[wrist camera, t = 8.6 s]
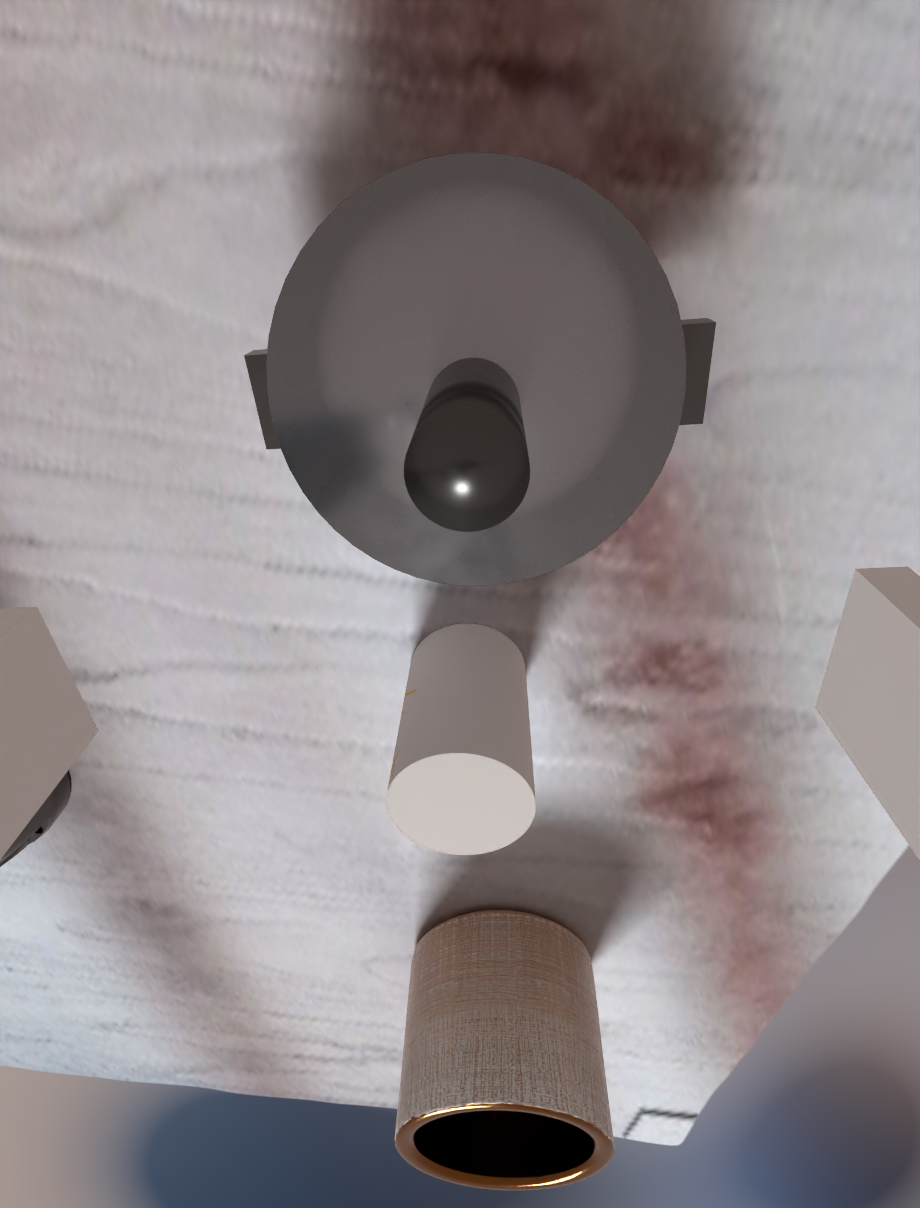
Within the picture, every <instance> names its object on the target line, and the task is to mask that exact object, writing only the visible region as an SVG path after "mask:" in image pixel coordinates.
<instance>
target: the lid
mask: <svg viewBox="0 0 920 1208" xmlns="http://www.w3.org/2000/svg"><path fill="white" fill-rule="evenodd" d="M266 368H267V393H268V399H269V405H270V411H271V417H272V422H273V425H274V428H275V432H276V435H277V439H278V442H279V445H280V448H281V450H282V452H283V455H284V457H285V459H286V462H287V464H288V466H289V469H290V471H291V472H292V474H293V476H294V477H295V479H296V481H297V483H298V484H299V486H300V488H301V490H302V491H303V493H304V494H305V495H306V497H307V498H308V499H309V501H310V502H311V503H312V505H313V506H314V507H315V509H316V510H317V511H318V513H319V514H320V515H321V516H322V517H323V518H324V519H325V520H326V521H327V522H328V523H329V524H330V525H331V526H332V527H333V528H334V529H335V530H336V531H337V532H338V533H339V534H340V535H342V536H343V537H344V538H345V539H346V540H348V541H349V542H350V543H351V544H352V545H354V546H355V547H357V548H358V549H360V550H361V551H363V552H364V553H366V554H367V555H369V556H370V557H372V558H373V559H375V560H377V561H379V562H381V563H383V564H385V565H387V566H389V567H391V568H393V569H395V570H398V571H401V572H404V573H406V574H409V575H412V576H414V577H418V578H422V579H426V580H430V581H434V582H438V583H445V584H453V585H461V586H489V585H499V584H508V583H513V582H517V581H522V580H526V579H531V578H534V577H537V576H540V575H543V574H546V573H548V572H551V571H554V570H556V569H558V568H560V567H562V566H564V565H567V564H569V563H571V562H573V561H575V560H576V559H578V558H580V557H581V556H583V555H584V554H586V553H588V552H589V551H591V550H592V549H594V548H595V547H597V546H598V545H599V544H600V543H602V542H603V541H604V540H605V539H607V538H608V537H609V536H610V535H612V534H613V533H614V532H615V531H616V530H617V529H618V528H619V527H620V526H621V525H622V524H623V523H624V522H625V521H626V520H627V519H628V518H629V517H630V516H631V515H632V514H633V512H634V511H635V510H636V509H637V507H638V506H639V505H640V504H641V502H642V501H643V500H644V498H645V497H646V496H647V495H648V493H649V491H650V490H651V488H652V486H653V485H654V483H655V481H656V480H657V478H658V476H659V475H660V473H661V471H662V469H663V467H664V464H665V462H666V460H667V458H668V456H669V453H670V451H671V449H672V446H673V443H674V440H675V437H676V433H677V430H678V427H679V424H680V420H681V414H682V408H683V403H684V397H685V386H686V353H685V341H684V333H683V328H682V324H681V319H680V315H679V310H678V306H677V303H676V300H675V297H674V295H673V292H672V289H671V287H670V284H669V281H668V279H667V276H666V274H665V272H664V271H663V269H662V267H661V265H660V263H659V261H658V260H657V258H656V256H655V254H654V252H653V250H652V249H651V247H650V246H649V245H648V243H647V242H646V241H645V239H644V238H643V237H642V235H641V234H640V233H639V231H638V230H637V229H636V227H635V226H634V225H633V223H632V222H631V221H630V220H629V219H628V218H627V217H626V216H625V215H623V214H622V213H621V212H620V211H619V210H618V209H617V208H616V207H615V206H614V205H613V204H612V203H611V202H610V201H609V200H608V199H606V198H605V197H604V196H602V195H601V194H599V193H598V192H597V191H595V190H594V189H592V188H591V187H590V186H588V185H587V184H585V183H584V182H582V181H580V180H578V179H576V178H575V177H573V176H571V175H569V174H567V173H565V172H563V171H561V170H559V169H557V168H555V167H552V166H549V165H546V164H542V163H539V162H536V161H533V160H530V159H527V158H523V157H517V156H511V155H504V154H497V153H455V154H449V155H443V156H438V157H432V158H427V159H423V160H420V161H417V162H415V163H412V164H409V165H406V166H403V167H400V168H397V169H395V170H393V171H391V172H389V173H387V174H385V175H383V176H381V177H380V178H378V179H376V180H374V181H372V182H370V183H368V184H366V185H365V186H364V187H362V188H361V189H360V190H358V191H357V192H356V193H354V194H353V195H352V196H350V197H349V198H348V199H346V200H345V201H344V202H342V203H341V204H340V205H339V206H338V207H337V208H336V209H335V210H334V211H333V212H332V213H331V214H330V215H329V216H328V217H327V218H326V219H325V220H324V221H323V222H322V223H321V224H320V225H319V226H318V228H317V229H316V230H315V232H314V233H313V235H312V236H311V237H310V239H309V240H308V241H307V243H306V244H305V246H304V247H303V248H302V250H301V251H300V253H299V255H298V256H297V258H296V260H295V262H294V264H293V266H292V268H291V270H290V271H289V273H288V275H287V277H286V279H285V282H284V285H283V287H282V290H281V293H280V295H279V298H278V301H277V304H276V306H275V310H274V315H273V319H272V324H271V328H270V333H269V340H268V352H267V363H266Z"/></svg>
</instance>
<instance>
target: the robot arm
mask: <svg viewBox="0 0 920 1208" xmlns="http://www.w3.org/2000/svg"><path fill="white" fill-rule="evenodd" d="M815 708H816V709H817V711H818V712H819V714H820V715H821V717H822V718H823V720H824V721H825V723H826V724H827V726H828V727H829V728H830V730H831V731H832V733H833V734H834V736H835V737H836V739H837V740H838V742H839V743H840V745H841V746H842V747H843V749H844V750H845V752H846V753H847V755H848V756H849V758H850V759H851V761H852V762H853V764H854V765H855V766H856V768H857V769H858V771H859V772H860V774H861V775H862V777H863V778H864V780H865V781H866V783H867V784H868V785H869V787H870V788H871V790H872V791H873V793H874V794H875V796H876V797H877V799H878V800H879V802H880V803H881V805H882V806H883V807H884V809H885V810H886V812H887V813H888V815H889V816H890V818H891V819H892V821H893V822H894V824H895V825H896V826H897V828H898V829H899V831H900V832H901V834H902V835H903V837H904V838H905V840H906V841H907V843H908V844H909V845H910V847H911V848H912V850H913V851H914V853H915V854H916V856H917V857H918V858H919V860H920V576H919V575H917V574H916V573H915V572H914V571H912V570H911V569H910V568H909V567H889V568H868V569H855V572H854V576H853V579H852V582H851V586H850V589H849V593H848V596H847V600H846V603H845V607H844V610H843V613H842V617H841V620H840V624H839V627H838V631H837V634H836V638H835V641H834V644H833V648H832V651H831V655H830V658H829V662H828V665H827V668H826V672H825V675H824V679H823V682H822V686H821V689H820V693H819V696H818V699H817V703H816V706H815ZM97 732H98V729H97V727H96V725H95V723H94V721H93V719H92V717H91V715H90V713H89V711H88V709H87V707H86V705H85V702H84V700H83V698H82V696H81V694H80V692H79V690H78V688H77V686H76V684H75V682H74V680H73V678H72V676H71V674H70V672H69V670H68V668H67V666H66V664H65V662H64V660H63V658H62V656H61V654H60V652H59V650H58V648H57V646H56V644H55V642H54V640H53V638H52V636H51V634H50V632H49V630H48V628H47V626H46V624H45V622H44V620H43V618H42V616H41V614H40V612H39V610H38V608H37V607H23V608H1V609H0V867H1V866H2V865H3V864H5V863H6V862H7V861H9V860H10V859H11V858H13V857H14V856H15V855H17V854H18V853H19V852H20V851H21V850H23V849H24V848H25V847H26V846H27V845H28V844H30V843H32V842H34V841H35V840H37V839H38V838H39V837H41V836H42V835H43V834H44V833H45V832H46V831H47V830H48V829H49V828H50V827H51V826H52V824H53V823H54V822H55V820H56V819H57V818H58V816H59V815H60V813H61V812H62V811H63V809H64V808H65V806H66V805H67V803H68V801H69V797H70V781H69V777H68V774H67V771H68V770H69V769H70V767H71V766H72V765H73V763H74V762H75V761H76V760H77V758H78V757H79V756H80V754H81V753H82V752H83V750H84V749H85V748H86V746H87V745H88V744H89V742H90V741H91V740H92V738H93V737H94V736H95V735H96V733H97Z"/></svg>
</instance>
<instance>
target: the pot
mask: <svg viewBox="0 0 920 1208" xmlns="http://www.w3.org/2000/svg"><path fill="white" fill-rule="evenodd" d="M681 324H682V328H683V333H684V341H685V353H686V386H685V397H684V403H683V408H682V414H681V420H680V424H679V425H687V424H703V418H704V410H705V403H706V395H707V387H708V380H709V372H710V364H711V357H712V349H713V341H714V334H715V326H716V322H714V321H712V320H710V319H708V318H702V319H688V320H681ZM267 352H268V349H265V350H253V351H251V352H250V353H248V354H246V355H244V356H245V361H246V365H247V369H248V373H249V377H250V382H251V386H252V390H253V394H254V398H255V403H256V407H257V411H258V415H259V419H260V423H261V428H262V432H263V436H264V440H265V444H266V449H278V448H280V445H279V442H278V439H277V435H276V432H275V428H274V425H273V422H272V417H271V411H270V405H269V399H268V393H267V368H266V363H267Z"/></svg>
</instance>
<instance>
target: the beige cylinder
mask: <svg viewBox="0 0 920 1208" xmlns="http://www.w3.org/2000/svg"><path fill="white" fill-rule="evenodd" d="M386 806H387V811H388V814H389V817H390V819H391V821H392V822H393V824H394V825H395V826H396V828H397V829H398V830H399V831H400V832H401V833H402V834H403V835H404V836H406V837H407V838H408V839H410V840H411V841H413V842H415V843H416V844H418V845H420V846H423V847H425V848H428V849H430V850H433V851H437V852H441V853H446V854H453V855H476V854H483V853H488V852H492V851H495V850H498V849H501V848H503V847H505V846H508V845H509V844H511V843H513V842H514V841H516V840H517V839H519V838H520V837H521V836H522V835H523V834H524V833H525V832H526V831H527V829H528V828H529V827H530V825H531V823H532V821H533V819H534V815H535V810H536V803H535V790H534V776H533V763H532V749H531V736H530V723H529V709H528V696H527V683H526V669H525V662H524V659H523V656H522V654H521V652H520V650H519V648H518V647H517V646H516V644H515V643H514V642H513V641H512V640H511V639H510V638H508V637H507V636H506V635H504V634H503V633H501V632H499V631H497V630H495V629H493V628H490V627H487V626H484V625H479V624H469V623H463V624H454V625H449V626H446V627H443V628H440V629H438V630H436V631H434V632H432V633H431V634H429V635H428V636H427V637H425V638H424V639H423V640H422V641H421V642H420V644H419V645H418V646H417V648H416V649H415V651H414V654H413V656H412V660H411V665H410V670H409V676H408V681H407V687H406V692H405V698H404V703H403V709H402V714H401V720H400V725H399V731H398V736H397V742H396V747H395V753H394V758H393V764H392V769H391V775H390V780H389V786H388V791H387V797H386Z"/></svg>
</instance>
